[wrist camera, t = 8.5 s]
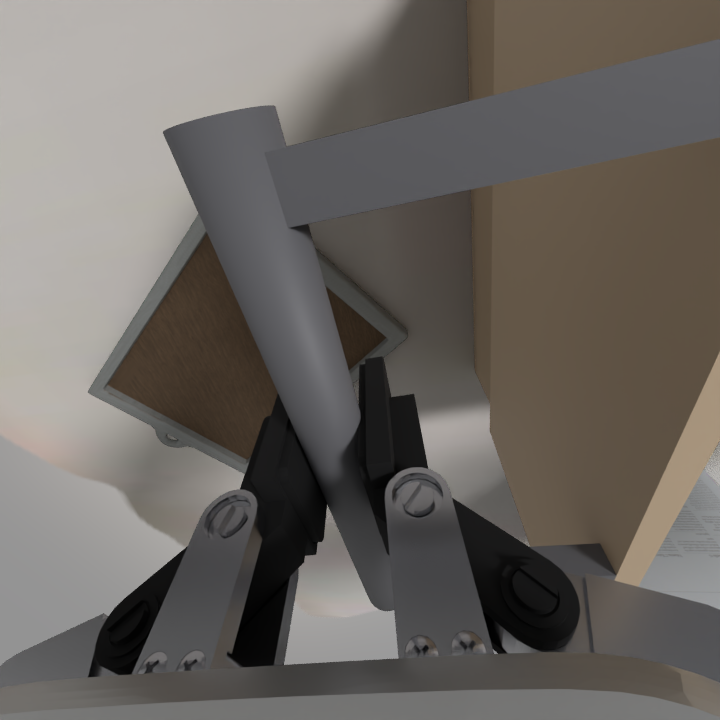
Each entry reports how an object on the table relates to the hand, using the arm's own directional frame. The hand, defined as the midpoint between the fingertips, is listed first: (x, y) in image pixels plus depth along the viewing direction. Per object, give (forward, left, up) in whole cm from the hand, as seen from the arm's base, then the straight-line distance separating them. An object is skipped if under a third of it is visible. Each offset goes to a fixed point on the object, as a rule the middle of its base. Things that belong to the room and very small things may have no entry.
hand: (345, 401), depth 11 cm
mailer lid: (-9, 0, -4) cm, 10 cm away
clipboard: (+15, +10, -20) cm, 27 cm away
